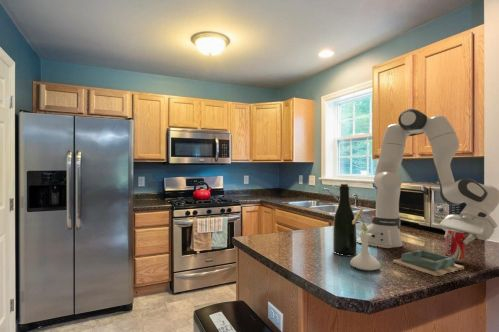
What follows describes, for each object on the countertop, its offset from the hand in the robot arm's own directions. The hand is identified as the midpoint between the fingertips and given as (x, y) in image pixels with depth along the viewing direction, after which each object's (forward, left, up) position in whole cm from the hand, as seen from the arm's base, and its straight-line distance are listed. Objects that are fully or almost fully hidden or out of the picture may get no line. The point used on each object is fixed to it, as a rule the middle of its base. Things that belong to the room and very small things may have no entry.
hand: (454, 240), depth 122 cm
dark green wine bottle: (-44, -6, -9) cm, 46 cm away
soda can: (0, 0, -8) cm, 8 cm away
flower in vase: (-34, -24, -9) cm, 43 cm away
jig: (-11, -10, -9) cm, 18 cm away
